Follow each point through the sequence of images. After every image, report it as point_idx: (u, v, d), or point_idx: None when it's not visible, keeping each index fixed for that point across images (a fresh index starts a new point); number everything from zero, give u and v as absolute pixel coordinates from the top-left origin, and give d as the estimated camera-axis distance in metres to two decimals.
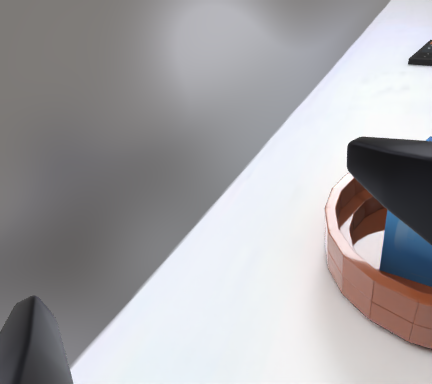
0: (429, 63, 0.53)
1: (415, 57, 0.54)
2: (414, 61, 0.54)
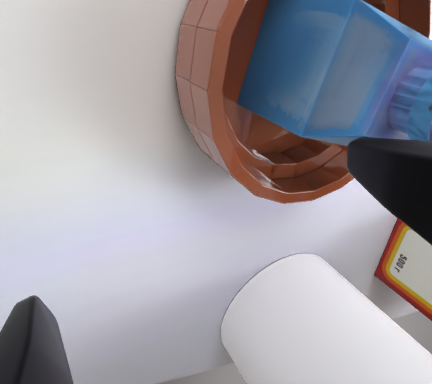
0: None
1: None
2: None
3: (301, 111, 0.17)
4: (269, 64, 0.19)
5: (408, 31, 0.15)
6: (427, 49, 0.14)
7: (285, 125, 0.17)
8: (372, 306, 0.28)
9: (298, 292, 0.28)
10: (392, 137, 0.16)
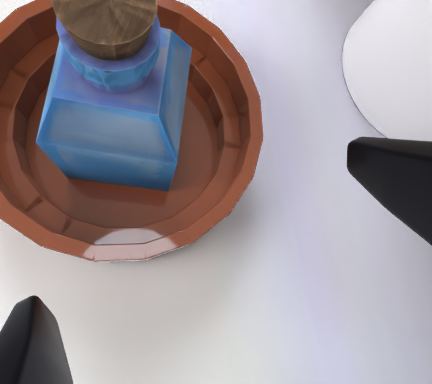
0: None
1: None
2: None
3: (153, 163, 0.16)
4: (123, 178, 0.20)
5: (53, 77, 0.14)
6: (60, 65, 0.13)
7: (171, 170, 0.17)
8: None
9: (387, 74, 0.23)
10: (159, 71, 0.14)
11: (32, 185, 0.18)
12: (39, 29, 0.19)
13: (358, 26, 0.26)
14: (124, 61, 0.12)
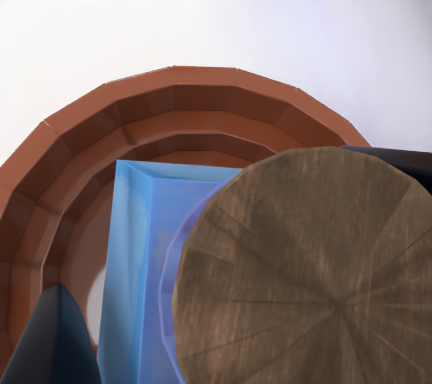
0: None
1: None
2: None
3: None
4: None
5: (118, 306, 0.07)
6: (143, 320, 0.06)
7: None
8: None
9: None
10: None
11: None
12: (77, 141, 0.12)
13: None
14: None
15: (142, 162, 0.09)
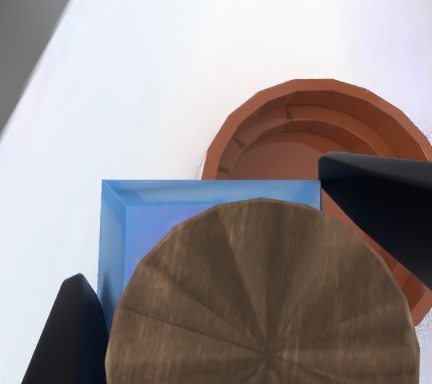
0: None
1: None
2: None
3: None
4: None
5: (106, 326, 0.08)
6: None
7: None
8: None
9: None
10: None
11: None
12: (266, 108, 0.21)
13: None
14: None
15: (126, 181, 0.09)
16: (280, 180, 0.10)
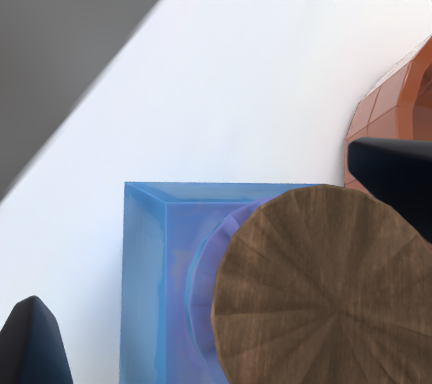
0: None
1: None
2: None
3: None
4: None
5: (139, 317, 0.08)
6: (167, 329, 0.07)
7: None
8: None
9: None
10: None
11: None
12: None
13: None
14: None
15: (148, 183, 0.10)
16: (288, 184, 0.11)
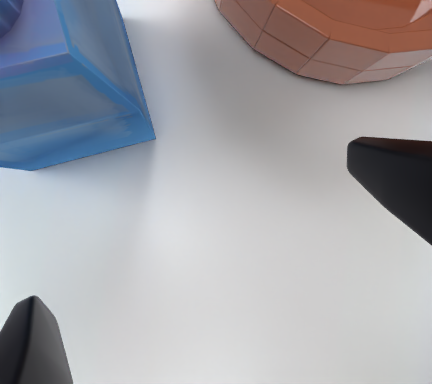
0: None
1: None
2: None
3: (109, 121, 0.11)
4: (91, 147, 0.15)
5: None
6: None
7: (139, 119, 0.12)
8: None
9: None
10: None
11: None
12: None
13: None
14: None
15: None
16: None
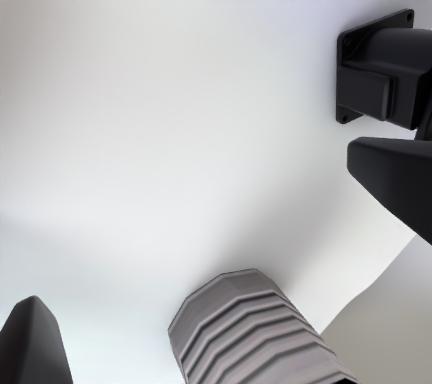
0: None
1: None
2: None
3: None
4: None
5: None
6: None
7: None
8: None
9: None
10: None
11: None
12: None
13: None
14: None
15: None
16: None
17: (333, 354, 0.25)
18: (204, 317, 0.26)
